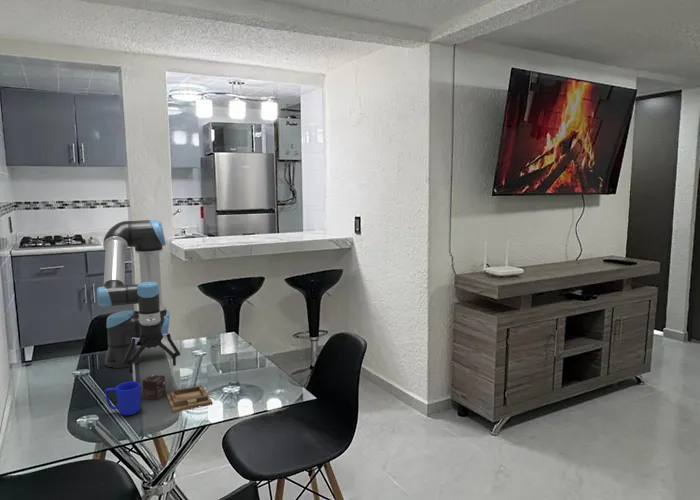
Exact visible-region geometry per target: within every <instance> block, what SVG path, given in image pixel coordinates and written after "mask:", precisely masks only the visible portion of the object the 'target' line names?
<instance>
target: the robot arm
mask: <svg viewBox="0 0 700 500" xmlns="http://www.w3.org/2000/svg"><path fill="white" fill-rule="evenodd" d="M164 246H166V239H165V234H164V229H163V225H162V222H161V221H160V220H156V219H145V220H124V221H120V222H117V223H116V224H114V225H113V226H112V227H110V228H109V230H108V231H107V232H106V233H105V235H104V238H103V244H102V247H103V249H104V250H105V251H104V254H105V257H104V271H103V272H104V273H103V286H99V287H97V288H96V301H97V305H98V306H99V307H115V306H125V305H135V304H136V305H137V304H138V313H135V311H134V310H133V309H132V310H131V309H130V310H129V309H126V310H121V311H117V312H114V313H111V314H110V315H108V316H107V318H106V326H105V327H106V333H107V347H108V348H107V352H106V356H105V359H104V363H105V364H106V365H107V366H109V367H113V368H112V369H124V368H128V371H129V372H128V373H130V374H132V380H133V381H135V382H137V379H136V376H137V375H136V366H135V365H137V364H139V363H141V362H142V355H141V353H142V352H143V351H144V350H145V349H146V348H147V349H151V348H157V347H158V346H159V347H160V348H161V349H162V350H163V351H165V352H166V353H167V354H168V355H169V366H170V367H169V369H170V370H169V371H170V375H171V376H174V375H175V374H174V367H175V366H176V365H177V360H176V359H177V357H179V356H181V352H180V351H179V349H178V347H177V346H176V345H175V343H174V341H173V340H172V337H171V333H170V332H169V328H170V314H171V313H170V310H167V306H165V305H164V304H163V295H162V291H163V290H162V277H161V276H162V275H161V263H160V261H161V260H160V259H161V258H160V253H161V252H162V251H163V248H164ZM128 248H134V251H135V252H136V253H137V254H138V258H139V259H138V260H139V274H140V283H136V284H125V278H126V275H125V274H126V268H125V267H126V251H127V250H128ZM163 338H164V340H166V341H168V343H169V344H170V346H171V348H172V349H173V351H174V352H173V351H172V350H171V349H170V348H169V347H167V346H166V345H165V344H164V343H163V342H162V341H163ZM138 342H140V345H139V346H138V345H137V344H138ZM109 367H108V368H109Z"/></svg>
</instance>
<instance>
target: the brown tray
mask: <svg viewBox="0 0 700 500" xmlns="http://www.w3.org/2000/svg"><path fill="white" fill-rule="evenodd" d="M165 395H166V399H167V401H168V403H169V405H170V408H171V411H172V413H176V412H182V411H185V410H190V409H191V408H192V409H196V408H195V407H197V408H200V407H199V406H202V407H206V406H211V405H213V401H212V399H211V397H210V395H209V394H208V392H207V390H206V389H205V387H204V386H203V385H195V386H190V387H184V388H180V389H179V388H178V389H175V390H173V389H172V390H169V392H168V393H166V394H165ZM210 404H211V405H210ZM205 405H206V406H205Z"/></svg>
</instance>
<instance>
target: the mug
mask: <svg viewBox="0 0 700 500" xmlns="http://www.w3.org/2000/svg"><path fill="white" fill-rule="evenodd" d="M141 385H142V384H141V383H140V382H138V381H125V382H122V383H120V384H118V385H116V386H115V387H108V388H105V389H104V393H105V394H104V395H105V398H106V404H107V405H108V407H109V408H110V409H112V410H117V409H118V412H119V413H120V414H121V415H122V416H132V415H135V414H137V413H138V412H139V411H140V409H141V387H142V386H141ZM109 391H113V392H114V393H115V395H116V402H117V406H114V405H112V403H111V401H110V400H111V399H110V397H109Z"/></svg>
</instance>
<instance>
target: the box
mask: <svg viewBox="0 0 700 500" xmlns="http://www.w3.org/2000/svg"><path fill="white" fill-rule="evenodd" d="M166 391H167V390H166V377H165V375H154V374H151V375H149V376H147V377H145V378H144V379H143V380H142V392H143V394H142V395H143V399H147V400H159V399H160V398H162V397H163V396H165V395H166Z"/></svg>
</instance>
